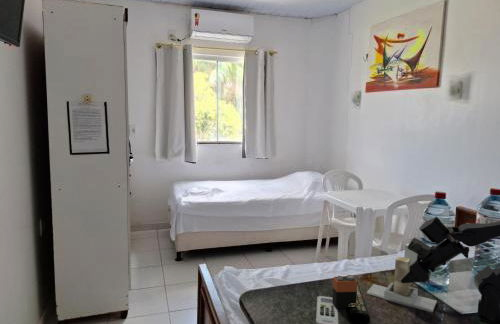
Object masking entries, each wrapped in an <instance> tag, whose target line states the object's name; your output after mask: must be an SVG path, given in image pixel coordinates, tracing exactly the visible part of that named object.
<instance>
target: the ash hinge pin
mask: <svg viewBox="0 0 500 324" xmlns="http://www.w3.org/2000/svg"><path fill="white" fill-rule="evenodd" d="M394 261H395V266H394V282H393V283H394V292H395V293H398V294H402V295H406V296H408V292H409V287H410V283H402V282H401V279H402V278H403V277H404V276H405V275H406V274H407V273H408V272H409V271H410V268H409V267H410V261H411V259H409V258H404V256H397V257H396V258H395V260H394Z"/></svg>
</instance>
